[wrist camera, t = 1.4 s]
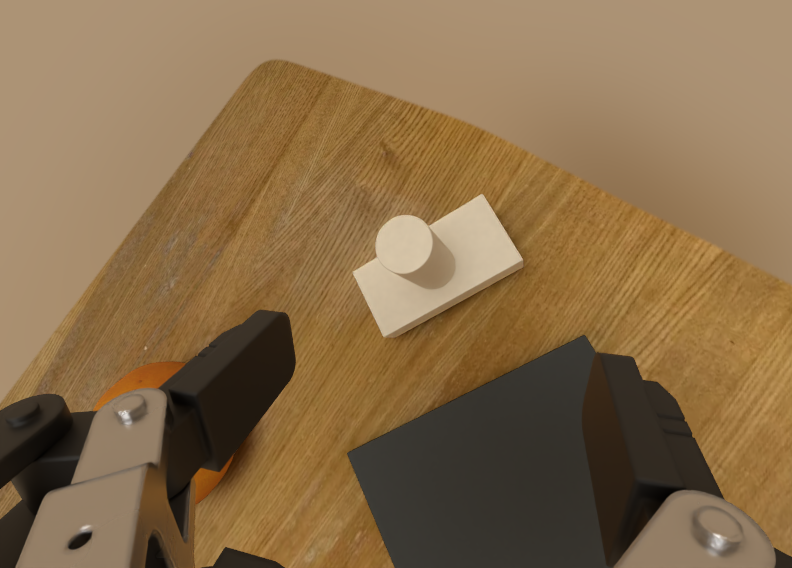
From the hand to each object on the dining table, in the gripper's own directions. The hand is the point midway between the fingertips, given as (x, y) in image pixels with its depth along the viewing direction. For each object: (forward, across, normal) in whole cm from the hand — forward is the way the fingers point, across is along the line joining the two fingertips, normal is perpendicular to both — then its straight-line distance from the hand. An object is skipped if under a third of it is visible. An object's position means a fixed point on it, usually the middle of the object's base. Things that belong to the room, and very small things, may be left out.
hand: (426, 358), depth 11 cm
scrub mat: (+10, -4, +17) cm, 20 cm away
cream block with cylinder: (+18, +2, +6) cm, 19 cm away
